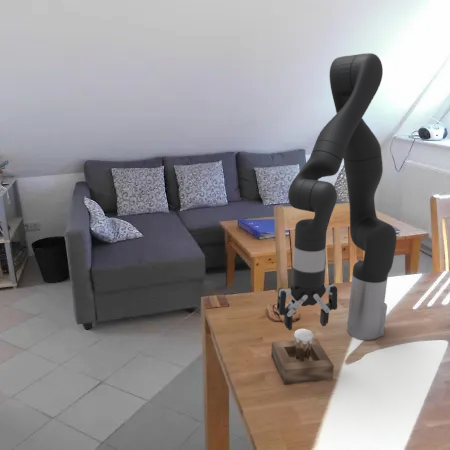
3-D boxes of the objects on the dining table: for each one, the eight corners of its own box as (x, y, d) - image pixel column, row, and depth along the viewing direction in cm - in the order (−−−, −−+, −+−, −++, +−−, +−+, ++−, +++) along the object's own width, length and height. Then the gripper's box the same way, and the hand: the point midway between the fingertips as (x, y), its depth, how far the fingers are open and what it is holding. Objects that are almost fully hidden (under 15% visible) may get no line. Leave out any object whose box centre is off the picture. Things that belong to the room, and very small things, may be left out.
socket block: (315, 352, 128) (316, 338, 127) (332, 379, 117) (333, 365, 115) (271, 355, 126) (271, 342, 125) (284, 384, 115) (284, 369, 113)
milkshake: (313, 370, 118) (316, 334, 115) (291, 367, 120) (294, 331, 116) (314, 359, 123) (317, 324, 120) (293, 357, 124) (295, 322, 121)
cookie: (297, 326, 141) (297, 317, 140) (261, 320, 144) (262, 311, 143) (303, 311, 150) (303, 302, 149) (269, 305, 153) (269, 297, 152)
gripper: (331, 256, 117) (328, 316, 122) (274, 260, 115) (273, 321, 120) (344, 268, 110) (340, 331, 115) (284, 273, 108) (282, 337, 113)
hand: (306, 326), depth 117 cm, fingers open, 8 cm apart
